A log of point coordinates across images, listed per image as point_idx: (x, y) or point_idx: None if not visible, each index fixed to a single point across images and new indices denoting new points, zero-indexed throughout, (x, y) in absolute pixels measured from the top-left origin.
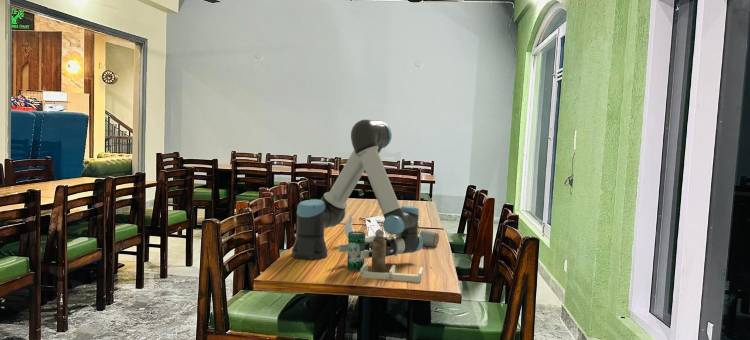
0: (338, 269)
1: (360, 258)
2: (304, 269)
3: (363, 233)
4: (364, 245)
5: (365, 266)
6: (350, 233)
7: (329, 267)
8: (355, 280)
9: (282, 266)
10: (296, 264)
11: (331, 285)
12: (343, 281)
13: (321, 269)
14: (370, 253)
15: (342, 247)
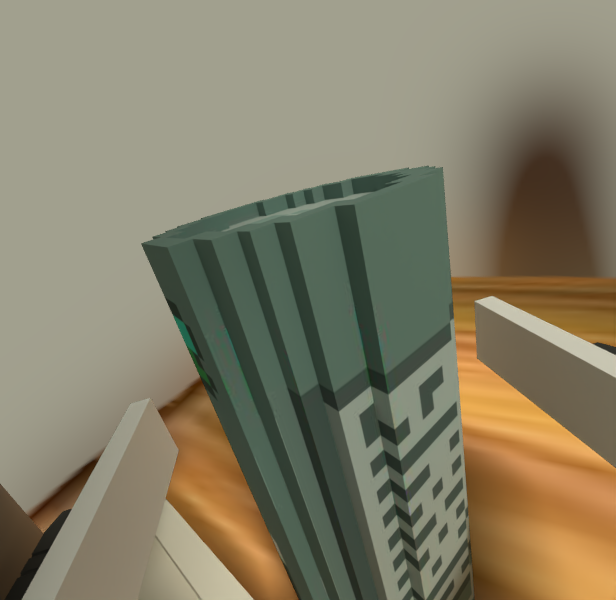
0: (466, 462)
1: (177, 449)
2: (461, 331)
3: (171, 238)
4: (250, 456)
5: (157, 536)
6: (282, 195)
7: (528, 422)
8: (178, 483)
9: (511, 287)
10: (569, 312)
11: (198, 381)
12: (208, 426)
13: (463, 380)
14: (67, 515)
15: (499, 339)
